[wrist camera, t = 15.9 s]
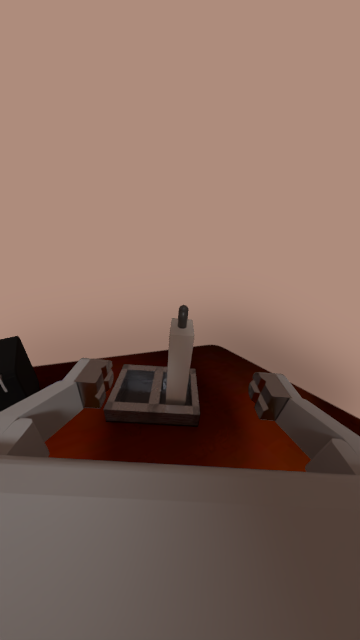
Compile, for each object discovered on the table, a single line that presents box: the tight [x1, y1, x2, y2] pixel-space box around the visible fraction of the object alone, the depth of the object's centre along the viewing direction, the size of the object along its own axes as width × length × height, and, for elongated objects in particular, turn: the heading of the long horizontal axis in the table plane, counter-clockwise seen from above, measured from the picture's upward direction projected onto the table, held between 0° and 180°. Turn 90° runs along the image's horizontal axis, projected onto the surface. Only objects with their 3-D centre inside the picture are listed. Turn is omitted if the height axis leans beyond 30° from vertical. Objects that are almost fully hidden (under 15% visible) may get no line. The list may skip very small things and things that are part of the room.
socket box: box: [104, 364, 200, 427], centre depth 27 cm, size 9×14×3 cm, turn 90°
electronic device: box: [0, 336, 39, 412], centre depth 22 cm, size 4×10×10 cm, turn 40°
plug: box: [166, 305, 194, 406], centre depth 24 cm, size 4×3×17 cm, turn 179°
